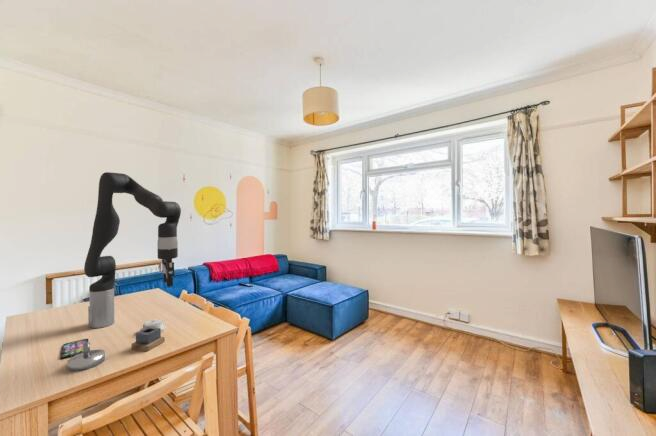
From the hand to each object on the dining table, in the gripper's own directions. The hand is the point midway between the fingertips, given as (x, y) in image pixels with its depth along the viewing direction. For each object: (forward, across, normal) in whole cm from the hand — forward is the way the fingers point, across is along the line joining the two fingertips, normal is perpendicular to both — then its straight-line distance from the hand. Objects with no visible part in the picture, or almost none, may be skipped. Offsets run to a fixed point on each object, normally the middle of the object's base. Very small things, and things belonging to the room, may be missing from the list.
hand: (168, 284), depth 116 cm
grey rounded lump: (+24, -12, -4) cm, 27 cm away
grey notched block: (+21, +3, -8) cm, 23 cm away
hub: (+23, +5, -26) cm, 36 cm away
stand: (+23, +3, -8) cm, 25 cm away
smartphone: (+24, -12, -31) cm, 41 cm away
